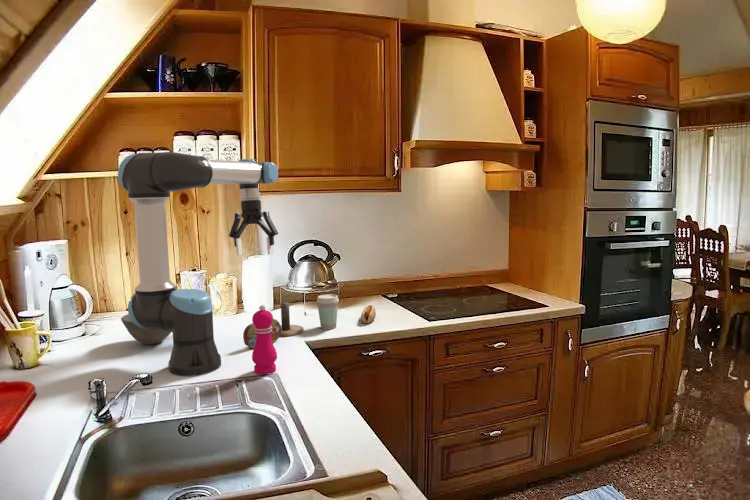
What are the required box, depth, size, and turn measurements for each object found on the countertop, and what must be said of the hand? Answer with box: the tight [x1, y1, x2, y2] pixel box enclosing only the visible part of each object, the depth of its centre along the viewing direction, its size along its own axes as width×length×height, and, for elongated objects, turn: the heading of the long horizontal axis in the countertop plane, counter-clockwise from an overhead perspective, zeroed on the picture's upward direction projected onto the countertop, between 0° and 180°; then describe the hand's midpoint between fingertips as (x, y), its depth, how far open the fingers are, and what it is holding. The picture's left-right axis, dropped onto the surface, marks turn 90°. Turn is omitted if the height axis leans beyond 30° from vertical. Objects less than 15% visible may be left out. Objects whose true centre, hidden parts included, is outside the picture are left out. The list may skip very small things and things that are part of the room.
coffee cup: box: [316, 293, 340, 330], centre depth 202 cm, size 9×8×12 cm
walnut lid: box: [279, 301, 305, 338], centre depth 197 cm, size 13×13×11 cm
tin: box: [242, 318, 281, 349], centre depth 182 cm, size 15×3×8 cm, turn 143°
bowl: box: [120, 313, 172, 345], centre depth 186 cm, size 19×19×10 cm
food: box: [360, 305, 377, 324], centre depth 212 cm, size 14×6×5 cm, turn 174°
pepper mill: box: [251, 304, 278, 375], centre depth 156 cm, size 7×7×20 cm
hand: (255, 254), depth 206 cm, fingers open, 13 cm apart
